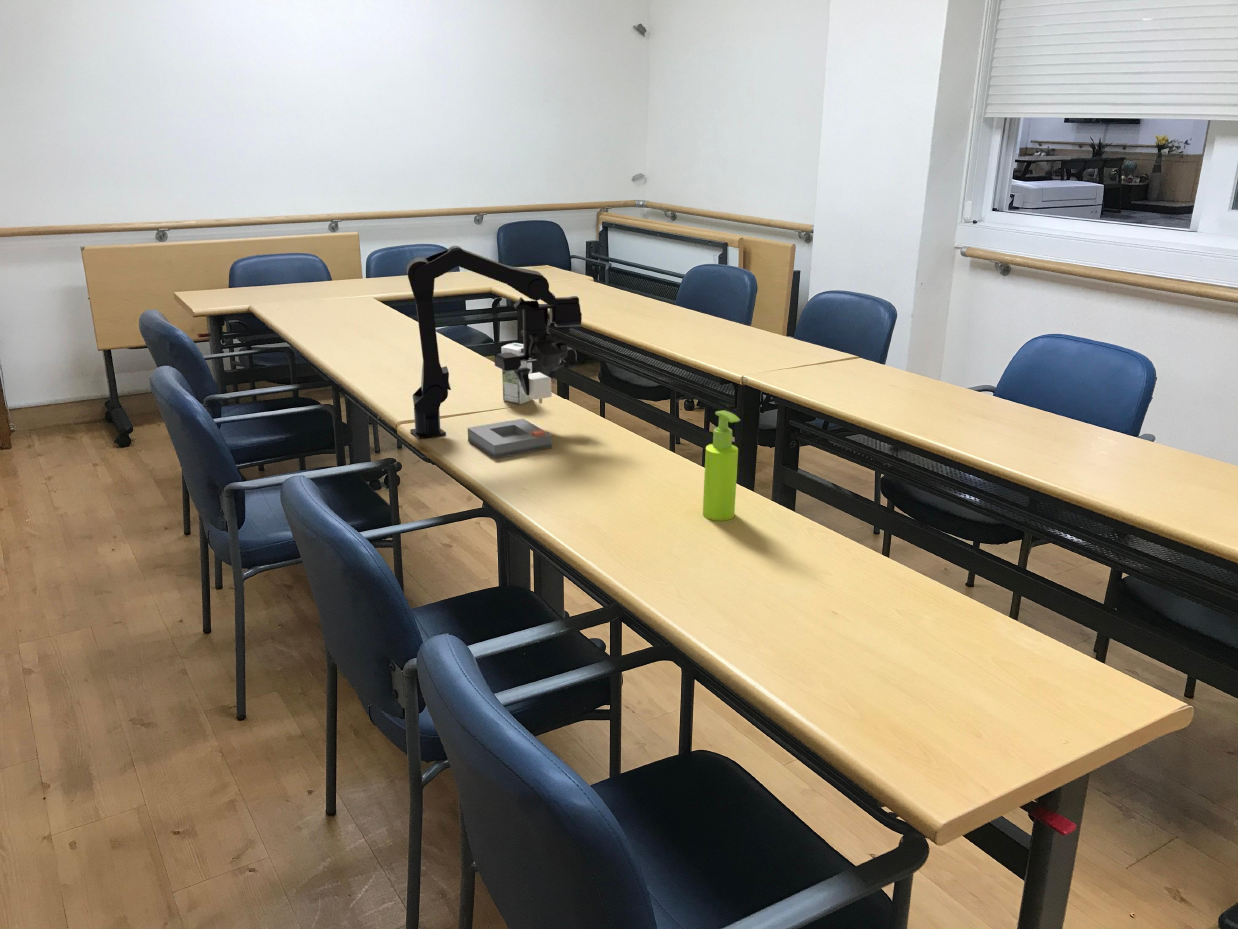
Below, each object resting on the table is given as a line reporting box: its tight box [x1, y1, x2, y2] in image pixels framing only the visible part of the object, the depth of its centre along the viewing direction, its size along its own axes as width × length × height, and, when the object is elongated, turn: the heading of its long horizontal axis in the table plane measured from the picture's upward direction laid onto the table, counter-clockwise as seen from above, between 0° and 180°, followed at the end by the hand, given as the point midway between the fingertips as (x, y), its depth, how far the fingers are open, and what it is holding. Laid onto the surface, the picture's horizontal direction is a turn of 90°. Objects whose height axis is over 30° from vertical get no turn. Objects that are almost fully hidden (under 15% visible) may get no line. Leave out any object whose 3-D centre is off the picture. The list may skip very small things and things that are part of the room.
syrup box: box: [500, 342, 534, 405], centre depth 243 cm, size 6×6×14 cm
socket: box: [467, 418, 553, 459], centre depth 213 cm, size 14×14×4 cm
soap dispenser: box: [702, 410, 741, 521], centre depth 174 cm, size 6×7×20 cm
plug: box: [522, 371, 553, 405], centre depth 222 cm, size 6×5×6 cm
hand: (536, 393), depth 222 cm, fingers closed on plug, 5 cm apart
